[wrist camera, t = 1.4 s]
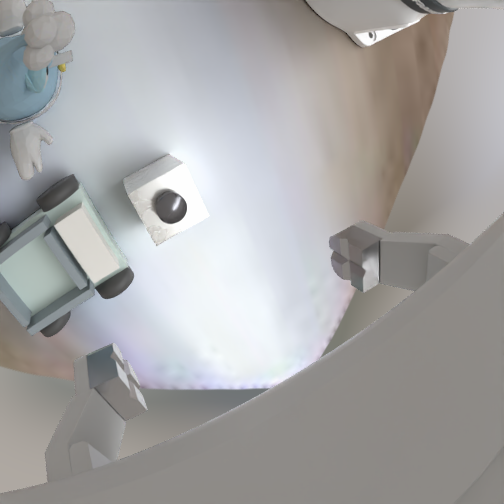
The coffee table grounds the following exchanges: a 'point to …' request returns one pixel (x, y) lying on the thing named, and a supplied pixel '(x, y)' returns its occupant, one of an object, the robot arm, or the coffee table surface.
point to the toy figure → (30, 73)
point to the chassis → (59, 260)
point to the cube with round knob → (165, 198)
